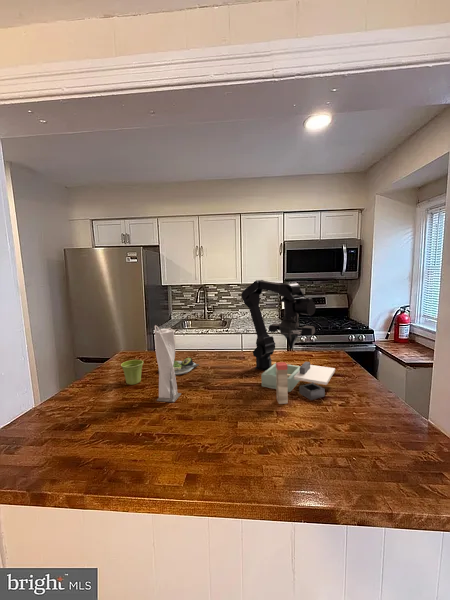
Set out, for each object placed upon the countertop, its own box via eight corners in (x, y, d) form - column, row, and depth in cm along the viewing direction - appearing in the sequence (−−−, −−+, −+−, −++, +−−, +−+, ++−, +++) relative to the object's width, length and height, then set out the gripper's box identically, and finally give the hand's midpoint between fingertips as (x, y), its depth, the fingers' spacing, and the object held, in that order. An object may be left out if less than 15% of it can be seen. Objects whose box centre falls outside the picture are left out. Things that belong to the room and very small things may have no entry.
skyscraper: (153, 400, 107) (148, 327, 104) (162, 391, 115) (158, 323, 112) (174, 402, 105) (169, 327, 102) (182, 392, 113) (178, 323, 110)
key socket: (299, 393, 109) (299, 385, 108) (312, 390, 111) (312, 382, 111) (311, 400, 103) (310, 392, 102) (324, 396, 105) (324, 388, 105)
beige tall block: (276, 399, 104) (275, 362, 103) (285, 399, 104) (284, 362, 103) (278, 403, 101) (278, 365, 99) (287, 403, 101) (287, 365, 100)
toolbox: (261, 386, 117) (261, 374, 116) (276, 373, 130) (275, 362, 130) (290, 391, 110) (290, 379, 110) (302, 377, 124) (302, 366, 123)
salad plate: (183, 380, 127) (183, 370, 126) (149, 376, 133) (149, 366, 133) (202, 366, 145) (201, 357, 144) (171, 363, 151) (171, 354, 151)
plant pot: (145, 384, 123) (144, 364, 122) (122, 388, 120) (121, 368, 119) (143, 376, 132) (142, 358, 131) (121, 380, 129) (120, 361, 128)
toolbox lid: (293, 379, 109) (293, 370, 109) (305, 366, 123) (305, 358, 122) (326, 385, 103) (326, 375, 102) (335, 370, 116) (335, 362, 116)
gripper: (263, 314, 119) (263, 351, 121) (307, 317, 109) (308, 356, 111) (273, 310, 129) (273, 344, 130) (315, 312, 119) (315, 349, 121)
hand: (291, 348), depth 123 cm, fingers closed
